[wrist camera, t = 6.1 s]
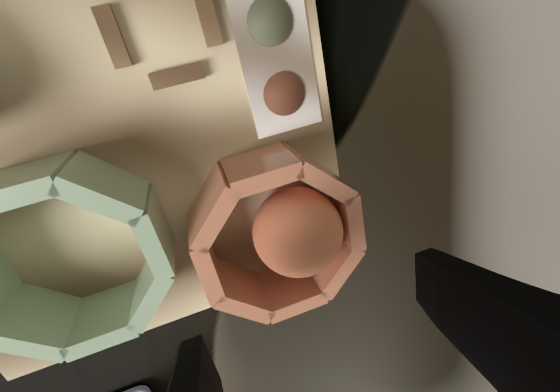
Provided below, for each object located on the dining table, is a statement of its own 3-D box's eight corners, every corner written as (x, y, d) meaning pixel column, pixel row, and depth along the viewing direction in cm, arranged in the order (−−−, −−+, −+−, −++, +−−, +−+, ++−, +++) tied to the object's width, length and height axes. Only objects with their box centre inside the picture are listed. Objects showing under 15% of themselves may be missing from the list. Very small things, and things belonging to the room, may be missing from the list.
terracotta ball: (302, 233, 18) (366, 256, 16) (247, 276, 16) (309, 312, 13) (287, 165, 17) (356, 179, 14) (223, 204, 14) (289, 229, 12)
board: (344, 249, 20) (353, 260, 19) (14, 367, 17) (4, 388, 16) (283, -168, 12) (294, -189, 11) (-364, -80, 9) (-437, -97, 8)
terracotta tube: (343, 253, 19) (370, 286, 16) (217, 298, 18) (225, 342, 15) (324, 128, 16) (355, 145, 13) (169, 173, 15) (168, 202, 12)
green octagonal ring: (190, 274, 17) (193, 316, 14) (34, 327, 16) (6, 384, 13) (131, 134, 14) (121, 155, 11) (-70, 188, 12) (-136, 226, 10)
